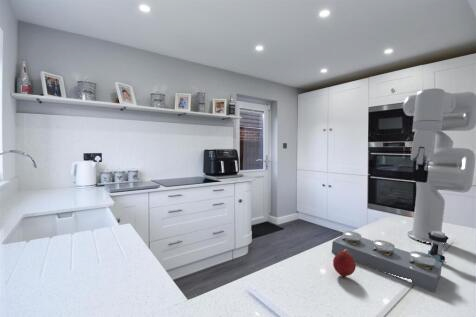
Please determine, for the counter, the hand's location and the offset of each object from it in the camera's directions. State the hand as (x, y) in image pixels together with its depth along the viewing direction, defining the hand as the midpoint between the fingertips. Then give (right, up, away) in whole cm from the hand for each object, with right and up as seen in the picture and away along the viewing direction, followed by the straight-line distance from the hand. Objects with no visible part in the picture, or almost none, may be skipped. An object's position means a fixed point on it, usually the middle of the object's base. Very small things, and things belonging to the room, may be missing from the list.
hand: (420, 181), depth 78 cm
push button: (+6, -28, +1) cm, 28 cm away
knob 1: (-21, -25, +5) cm, 33 cm away
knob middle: (-14, -26, -2) cm, 30 cm away
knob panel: (-14, -27, -2) cm, 30 cm away
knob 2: (-8, -27, -9) cm, 29 cm away
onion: (-32, -26, -11) cm, 43 cm away
